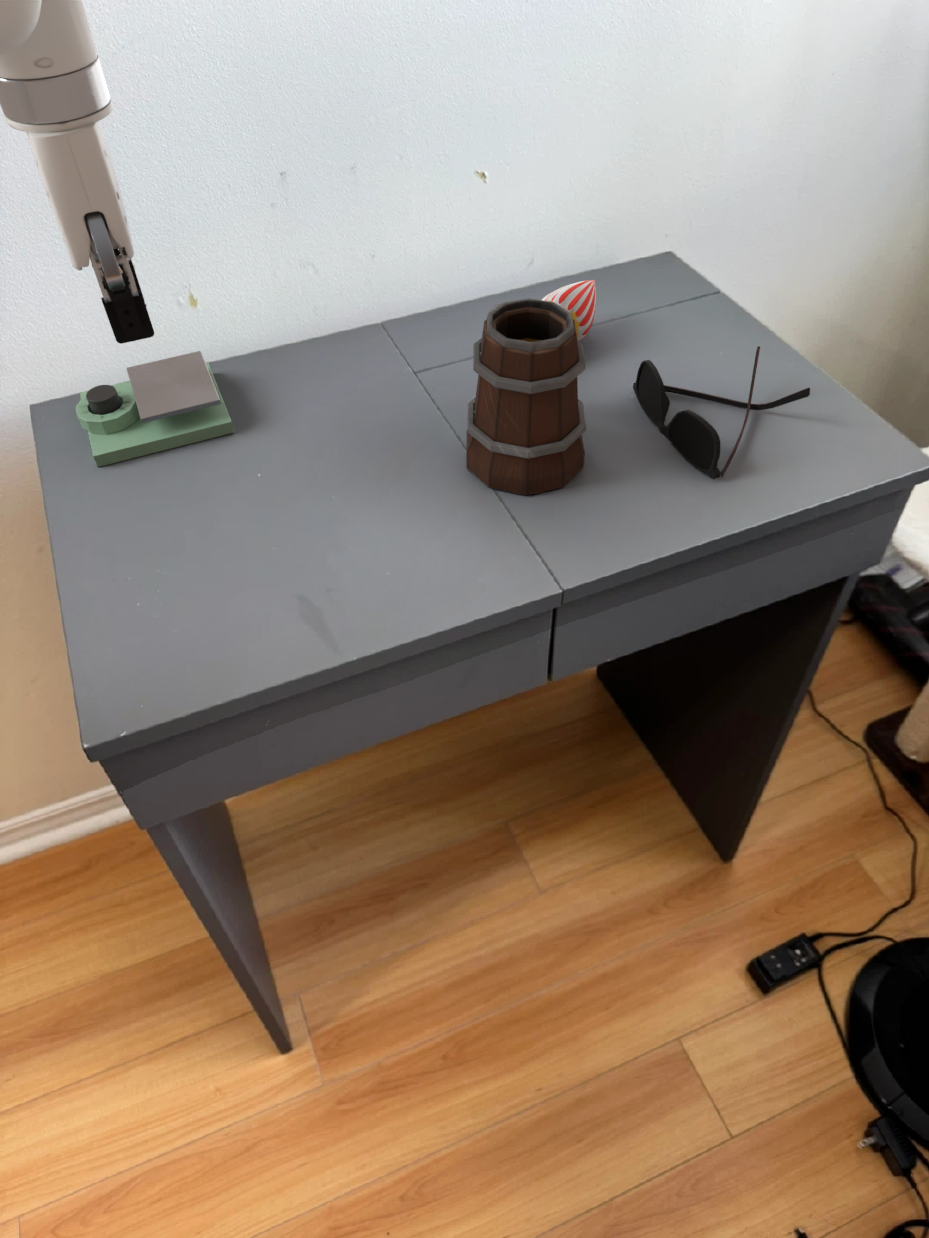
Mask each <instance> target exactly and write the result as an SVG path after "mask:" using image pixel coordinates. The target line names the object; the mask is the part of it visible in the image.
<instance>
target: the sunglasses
mask: <svg viewBox="0 0 929 1238" xmlns="http://www.w3.org/2000/svg"><path fill="white" fill-rule="evenodd" d="M760 349H761V347H760V346H759V345H758V346H757V348H756V351H755V356H754V363H753V368H752V375H751V381H750V388H749V394H748V399H747V402H744V401H739V400H735V399H730V398H727V397H722V396H719V395H714V394H709V393H705V392H700V391H696V390H691V389H687V388H682V387H678V386H677V387H675V386H671V385H667V384H664V381H663V378H662V376H661V375H660V372H659V370H658V368H657V367H656V366H655V364H654V363H653V361H651V360H650V359H646V360H645V359H644V360H643V361H641V362H640V364H639V367H638V369H637V374H636V378H635V382H633V383H632V389H633V392H634V394H635V397H636V398H637V401H638V403H639V405H640V407H641V409H642V410H643V412H644V413H645V415H646V416H647V417H648V419H649V420H650V421H651V422H652V423H653V425H655V426H656V428H657V429H658V431H659V432H660V434H662V436H664V437H665V438H666V439H667V440H668V441H669V443H670V445H671V446H672V447H673V448H674V449H675V450H676V451H677V452H678V453H679V454H680V455H681V456H682V457H683V458H684V459H685V461H687V462H688V463H689V464H691V465H692V466H693V467H694V468H696V469H697V470H699V471H700V472H701V473H703V474H704V475H706V476H707V477H709V478H711V479H713V480H716V479H719V478H721V477H722V478H723V477H724V476H725V474H726V471H727V470H728V468H729V467H730V466H729V465H730V464H731V461H732V459H733V458H734V455H735V454H736V451H737V449H738V447H739V445H740V443H741V440H742V437H743V434H744V432H745V429H746V426H747V422H748V419H749V416H750V410H752V411H766V410H770V409H774V408H777V407H780V406H784V405H786V404H787V405H788V404H790V403H792V402H796V401H799V400H802V399H805V398H808V397H810V395H811V387H806V388H804V389H801V390H799V391H796V392H793V393H791V394H788V395H786V396H784V397H781V398H778V399H776V400H772V401H769V402H765V403H752V399H753V392H754V387H755V381H756V375H757V369H758V362H759V356H760ZM667 393H669V394H676V395H681V396H686V397H690V398H695V399H699V400H700V399H701V400H704V401H710V402H713V403H719V404H723V405H728V406H732V407H737V408H740V409H746V412H745V417H744V421H743V425H742V427H741V431H740V433H739V436H738V438H737V440H736V442H735V445H734V447H733V449H732V451H731V453H730V455H729V457H728V459H727V461H726V463H725V465H724V466H723V469H719V468H718V464H719V460H720V456H721V446H722V445H721V438H720V436H719V433H718V432H717V430H716V429H715V427H714V426H712V424H710V422H709V421H708V420H707V419H705V418H704V417H703V416H701V415H700V414H697V413H696V412H694V411H692V410H691V409H684V410H680V411H678V412H676V414H674V416H673V417H672V418H671V419H670V421H669V423H668V424H667V425H666V424H665V423H666V419H667V415H668V413H669V409H670V405H671V400H670V398H669V396H668V395H667Z"/></svg>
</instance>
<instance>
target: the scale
mask: <svg viewBox="0 0 929 1238" xmlns="http://www.w3.org/2000/svg"><path fill="white" fill-rule="evenodd" d="M205 363H206V365H207V368H208V371H209V373H210V376H211V378H212V381H213V383H214V386H215V388H216V391H217V394H218V396H219V399H220V402H221V404H220V405H215V406H211V407H207V408H203V409H199V410H195V411H191V412H187V413H183V414H179V415H175V416H171V417H167V418H163V419H158V420H154V421H150V422H146V423H142V421H141V418H140V415H139V411H138V408H137V404H136V401H135V397H134V393H133V390H132V386H131V383H130V380H129V381H124V382H119V383H116V384H115V383H114V384H110V385H111V386H113V387H114V388H115V389H116V391H117V393H118V396H119V399H120V401H121V407H120V409H118V410H116V411H115V412H113V413H109V414H105V415H97V414H94V413H93V412H92V410H91V408H90V405H89V403H88V401H87V398H86V394H87V392H88V391H89V390H85V391H82V392H79V395H80V400H79V402H78V403H77V404H76V406H75V413H76V417H77V419H78V422H79V423H80V426H81V428H82V429H83V430H85V431H87V435H88V439H89V443H90V448H91V453H92V458H93V460H94V462H95V464H96V467H97V468H99V467H105V466H107V465H112V464H115V463H120V462H125V461H127V460H131V459H134V458H139V457H143V456H147V455H150V454H155V453H158V452H162V451H166V450H171V449H175V448H179V447H182V446H185V445H186V446H187V445H190V444H195V443H199V442H202V441H206V440H210V439H214V438H219V437H222V436H226V435H230V434H233V433H235V429H234V425H233V422H232V418H231V416H230V414H229V411H228V409H227V407H226V404H225V400H224V398H223V396H222V394H221V391H220V388H219V386H218V384H217V381H216V378H215V376H214V373H213V371H212V368H211V366H210V363H209V362H205Z"/></svg>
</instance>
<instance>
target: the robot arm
mask: <svg viewBox="0 0 929 1238" xmlns="http://www.w3.org/2000/svg"><path fill="white" fill-rule="evenodd" d="M84 6H85V5H84V4H83V0H0V108H1V110H2V113H3V115H4V118H5V121H6V123H7V125H8V126H9V127H11V128H12V129H14V130H17V131H21V132H26V137H27V140H28V142H29V146H30V150H31V153H32V156H33V159H34V162H35V165H36V167H37V171H38V174H39V176H40V180H41V182H42V185H43V187H44V191H45V193H46V196H47V199H48V201H49V204H50V208H51V210H52V212H53V215H54V218H55V220H56V223H57V226H58V229H59V232H60V234H61V237H62V240H63V243H64V246H65V249H66V251H67V255H68V258H69V260H70V263H71V265H72V268H74V269H75V270H77V271H83V268H88V267H89V266H90V263H91V267H92V269H93V271H94V275H95V277H96V280H97V283H98V286H99V289H100V292H101V294H102V297H100V299H101V303H102V305H103V308H104V311H105V313H106V316H107V319H108V322H109V325H110V328H111V330H112V333H113V336H114V339H115V341H116V342H117V343H118V344H126V343H131V342H136V341H141V340H145V339H149V338H153V337H154V336H155V330H154V328H153V324H152V321H151V317H150V314H149V311H148V308H147V304H146V302H145V297H144V295H143V292H142V289H141V285H140V283H139V279H138V276H137V273H136V270H135V266H134V263H133V257H134V255H135V250H134V246H133V240H132V235H131V230H130V226H129V220H128V216H127V211H126V207H125V203H124V199H123V195H122V191H121V188H120V183H119V180H118V175H117V173H116V169H115V165H114V162H113V158H112V155H111V151H110V149H109V145H108V142H107V138H106V135H105V132H104V128H103V125H102V122H101V120H103V119H106V117H108V116H110V115H111V113H112V112H113V110H114V104H113V101H112V98H111V95H110V92H109V88H108V85H107V81H106V78H105V74H104V71H103V68H102V65H101V61H100V57H99V54H98V50H97V47H96V44H95V40H94V37H93V33H92V31H91V26H90V23H89V20H88V16H87V14H86V10H85V7H84ZM119 267H120V268H121V270H122V271H123V273H121V271H120V268H119ZM129 287H130V288H129ZM145 304H146V305H145Z"/></svg>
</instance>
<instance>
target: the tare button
mask: <svg viewBox="0 0 929 1238" xmlns="http://www.w3.org/2000/svg"><path fill="white" fill-rule="evenodd" d="M111 385H112V384H99V385H96V386H93V387H92V388H90V389H89V390H87V391H88V392H87V394H86V398H87V401H88V403H89V405H90V408H91V410H92V412H93V413H94V414H97V415H105V414H109V413H113V412H115V411H116V410H118V409H120V407H121V401H120V399H119V396H118V393H117V391H116V389H115V388H114V387H113V386H111Z"/></svg>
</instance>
